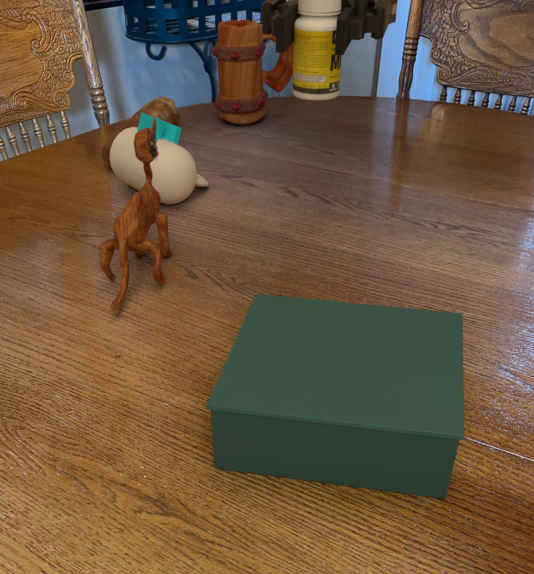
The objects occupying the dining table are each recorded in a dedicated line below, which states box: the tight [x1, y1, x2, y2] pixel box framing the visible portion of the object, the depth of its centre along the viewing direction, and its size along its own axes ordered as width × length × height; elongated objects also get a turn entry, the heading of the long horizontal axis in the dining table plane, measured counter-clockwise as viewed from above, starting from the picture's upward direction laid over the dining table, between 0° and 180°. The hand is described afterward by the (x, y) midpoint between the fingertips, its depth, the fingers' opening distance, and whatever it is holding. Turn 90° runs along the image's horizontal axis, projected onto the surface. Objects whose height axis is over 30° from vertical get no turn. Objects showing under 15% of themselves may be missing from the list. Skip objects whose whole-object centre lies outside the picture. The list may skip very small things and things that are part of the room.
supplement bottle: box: [291, 0, 343, 101], centre depth 67 cm, size 5×5×8 cm
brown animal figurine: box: [98, 118, 174, 312], centre depth 70 cm, size 18×7×14 cm, turn 172°
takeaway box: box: [205, 293, 465, 500], centre depth 55 cm, size 18×16×6 cm
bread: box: [101, 96, 181, 168], centre depth 104 cm, size 6×19×6 cm, turn 161°
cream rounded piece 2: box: [110, 112, 209, 205], centre depth 91 cm, size 12×9×12 cm
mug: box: [211, 19, 294, 126], centre depth 113 cm, size 15×8×15 cm, turn 112°
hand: (309, 36), depth 62 cm, fingers closed on supplement bottle, 5 cm apart
